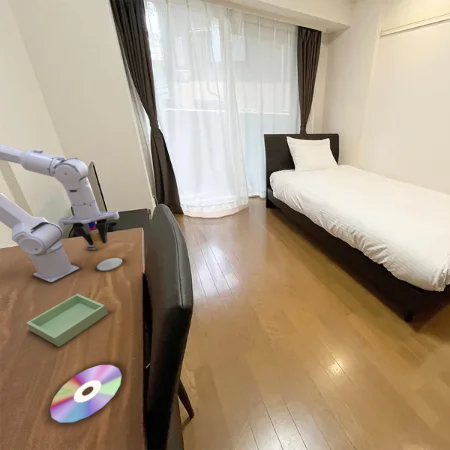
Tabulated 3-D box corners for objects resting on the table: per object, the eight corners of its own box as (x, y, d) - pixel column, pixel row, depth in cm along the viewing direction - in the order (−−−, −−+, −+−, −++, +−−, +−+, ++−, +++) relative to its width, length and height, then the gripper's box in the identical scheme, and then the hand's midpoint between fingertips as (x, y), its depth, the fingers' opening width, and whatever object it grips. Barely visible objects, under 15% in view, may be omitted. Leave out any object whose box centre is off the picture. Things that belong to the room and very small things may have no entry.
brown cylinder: (92, 248, 84) (86, 232, 82) (102, 244, 87) (96, 228, 84) (98, 250, 83) (92, 234, 81) (108, 245, 86) (103, 230, 83)
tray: (31, 331, 65) (26, 322, 64) (81, 301, 74) (77, 293, 73) (59, 347, 61) (54, 338, 60) (108, 313, 70) (104, 305, 69)
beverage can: (96, 251, 97) (81, 213, 91) (84, 249, 98) (69, 211, 91) (108, 244, 102) (94, 207, 95) (96, 243, 103) (82, 206, 96)
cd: (106, 355, 59) (106, 355, 59) (132, 383, 53) (132, 383, 53) (40, 398, 51) (40, 398, 51) (63, 437, 45) (63, 437, 45)
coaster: (92, 267, 88) (91, 266, 88) (113, 257, 94) (112, 256, 94) (106, 273, 86) (106, 271, 85) (127, 261, 91) (126, 260, 91)
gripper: (46, 210, 73) (65, 253, 79) (109, 203, 77) (123, 244, 83) (56, 201, 78) (74, 242, 84) (114, 195, 83) (127, 234, 89)
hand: (98, 242), depth 84 cm, fingers closed on brown cylinder, 3 cm apart
